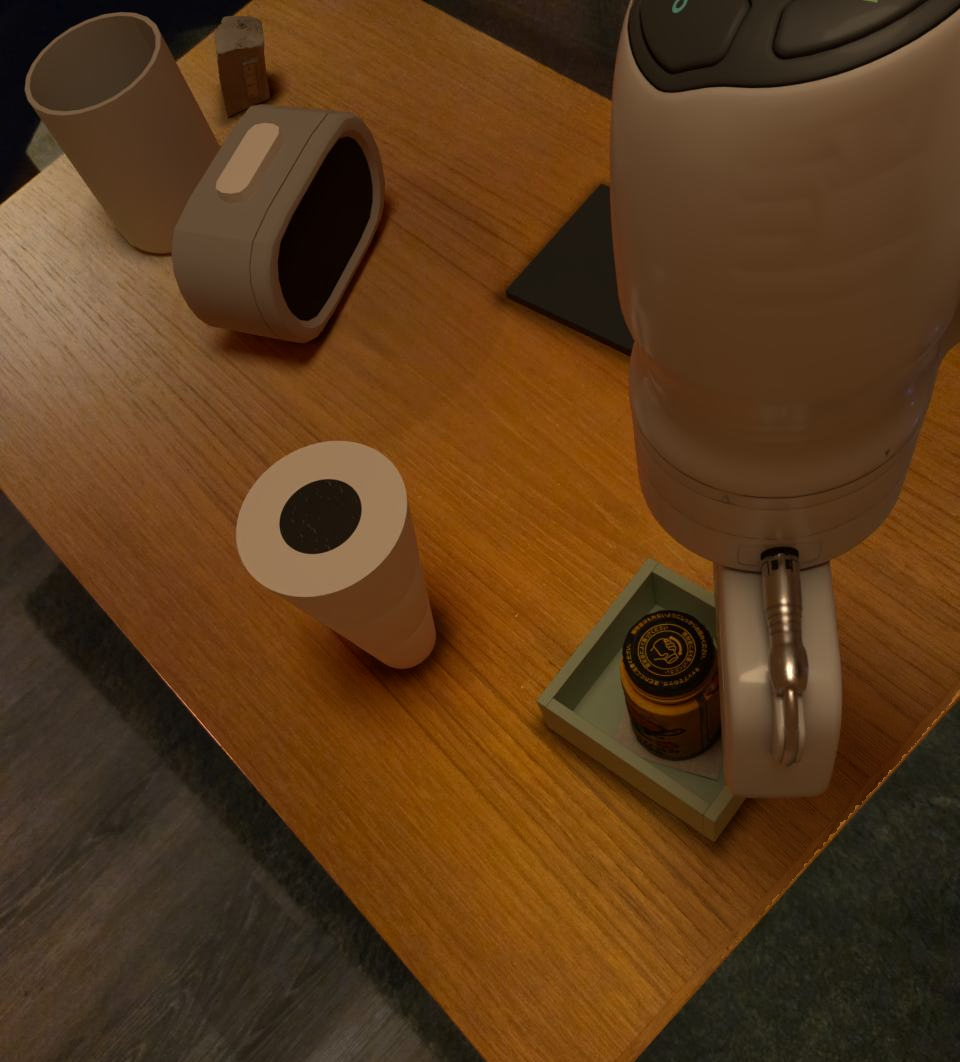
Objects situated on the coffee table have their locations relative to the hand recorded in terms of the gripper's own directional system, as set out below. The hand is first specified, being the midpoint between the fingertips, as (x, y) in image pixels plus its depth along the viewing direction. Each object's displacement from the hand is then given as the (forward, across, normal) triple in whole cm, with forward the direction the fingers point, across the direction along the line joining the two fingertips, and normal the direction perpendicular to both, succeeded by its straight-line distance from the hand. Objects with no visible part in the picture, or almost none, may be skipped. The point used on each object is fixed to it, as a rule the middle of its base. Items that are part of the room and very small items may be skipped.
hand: (753, 613), depth 44 cm
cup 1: (+23, +61, +53) cm, 84 cm away
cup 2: (+23, +10, +24) cm, 35 cm away
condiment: (+23, +4, +4) cm, 23 cm away
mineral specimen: (+23, +75, +46) cm, 91 cm away
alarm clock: (+23, +48, +36) cm, 64 cm away
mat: (+23, +43, +6) cm, 49 cm away
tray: (+23, +4, +4) cm, 23 cm away
